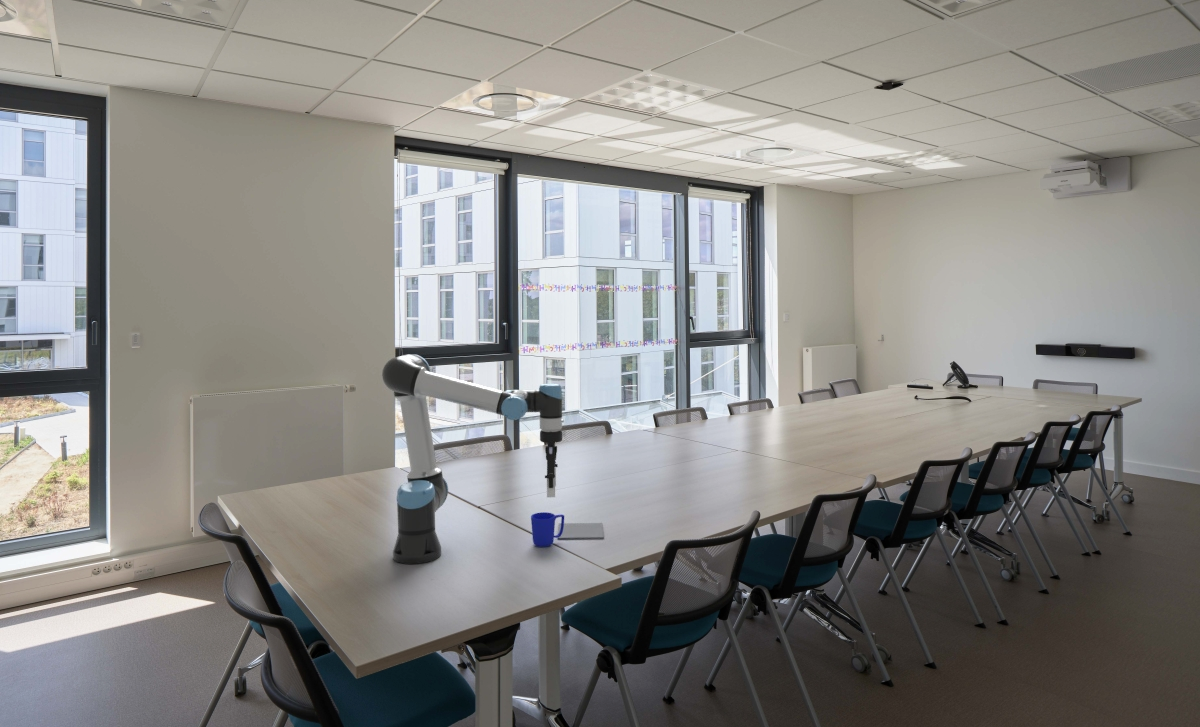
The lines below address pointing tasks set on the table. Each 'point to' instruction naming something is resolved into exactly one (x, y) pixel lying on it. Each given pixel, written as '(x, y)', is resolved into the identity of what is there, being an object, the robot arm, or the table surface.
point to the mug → (545, 528)
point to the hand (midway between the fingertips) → (551, 491)
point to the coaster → (581, 531)
